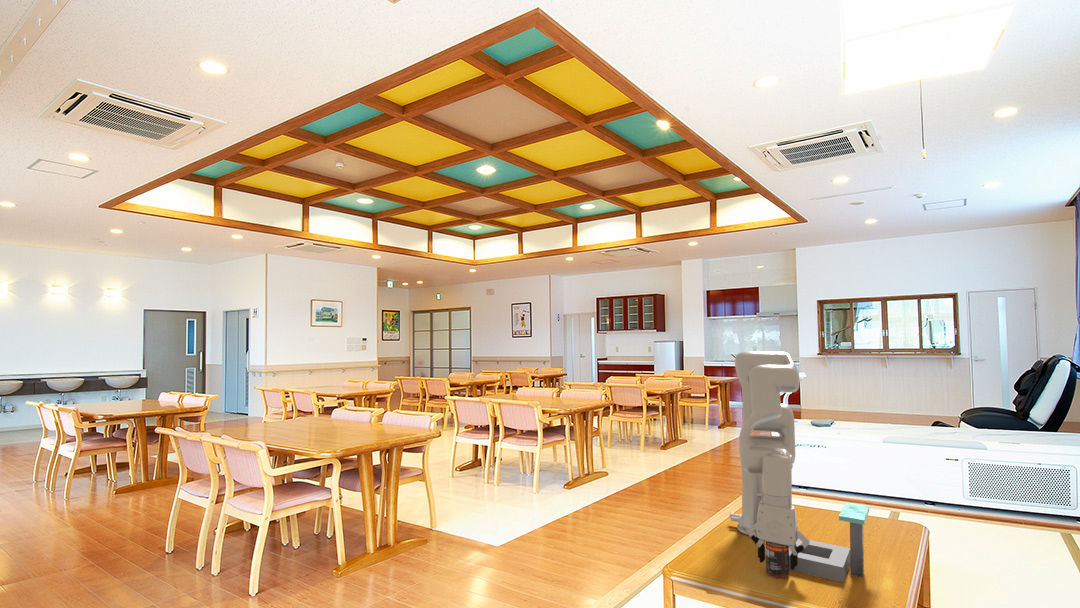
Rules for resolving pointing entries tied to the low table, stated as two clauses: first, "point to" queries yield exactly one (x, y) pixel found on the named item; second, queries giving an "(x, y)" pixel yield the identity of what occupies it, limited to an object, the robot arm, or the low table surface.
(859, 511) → the teal-capped gray pillar
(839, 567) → the socket block
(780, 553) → the supplement bottle
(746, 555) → the low table surface
